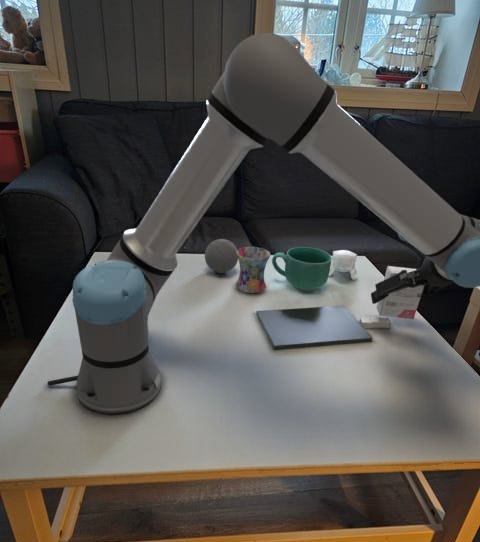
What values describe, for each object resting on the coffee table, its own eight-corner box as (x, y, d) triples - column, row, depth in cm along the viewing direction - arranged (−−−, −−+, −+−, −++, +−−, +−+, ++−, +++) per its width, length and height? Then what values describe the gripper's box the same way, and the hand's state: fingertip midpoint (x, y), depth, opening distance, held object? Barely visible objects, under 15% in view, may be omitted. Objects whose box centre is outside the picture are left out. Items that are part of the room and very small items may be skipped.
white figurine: (327, 274, 140) (326, 276, 126) (331, 248, 139) (331, 246, 125) (354, 278, 139) (356, 280, 124) (358, 252, 138) (362, 251, 123)
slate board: (274, 349, 96) (274, 345, 95) (256, 314, 109) (256, 310, 109) (371, 341, 101) (372, 337, 100) (343, 308, 114) (343, 305, 114)
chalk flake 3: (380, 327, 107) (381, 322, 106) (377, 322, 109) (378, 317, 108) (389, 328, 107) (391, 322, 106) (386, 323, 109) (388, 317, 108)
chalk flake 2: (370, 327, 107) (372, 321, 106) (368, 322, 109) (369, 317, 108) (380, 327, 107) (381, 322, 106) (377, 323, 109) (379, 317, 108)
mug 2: (329, 280, 129) (334, 250, 125) (323, 298, 119) (328, 266, 114) (276, 271, 133) (279, 242, 129) (265, 287, 123) (268, 256, 118)
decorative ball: (197, 271, 130) (197, 240, 125) (218, 262, 137) (219, 232, 132) (223, 281, 125) (225, 248, 120) (243, 271, 132) (245, 240, 127)
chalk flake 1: (361, 328, 106) (362, 322, 105) (358, 323, 108) (360, 317, 107) (370, 328, 106) (372, 322, 105) (368, 323, 108) (369, 318, 107)
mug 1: (262, 298, 117) (265, 261, 112) (229, 291, 119) (231, 255, 114) (272, 280, 127) (276, 246, 122) (242, 275, 129) (245, 241, 124)
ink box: (409, 310, 111) (422, 268, 105) (414, 320, 106) (428, 276, 100) (375, 307, 111) (387, 264, 105) (379, 316, 107) (391, 272, 101)
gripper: (404, 283, 85) (353, 314, 107) (497, 279, 90) (431, 309, 111) (396, 248, 87) (348, 285, 108) (488, 246, 92) (425, 281, 113)
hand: (390, 297), depth 110 cm, fingers closed on ink box, 9 cm apart
